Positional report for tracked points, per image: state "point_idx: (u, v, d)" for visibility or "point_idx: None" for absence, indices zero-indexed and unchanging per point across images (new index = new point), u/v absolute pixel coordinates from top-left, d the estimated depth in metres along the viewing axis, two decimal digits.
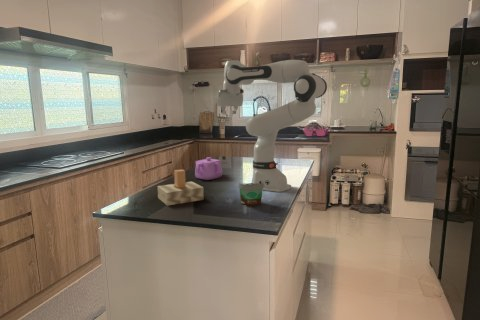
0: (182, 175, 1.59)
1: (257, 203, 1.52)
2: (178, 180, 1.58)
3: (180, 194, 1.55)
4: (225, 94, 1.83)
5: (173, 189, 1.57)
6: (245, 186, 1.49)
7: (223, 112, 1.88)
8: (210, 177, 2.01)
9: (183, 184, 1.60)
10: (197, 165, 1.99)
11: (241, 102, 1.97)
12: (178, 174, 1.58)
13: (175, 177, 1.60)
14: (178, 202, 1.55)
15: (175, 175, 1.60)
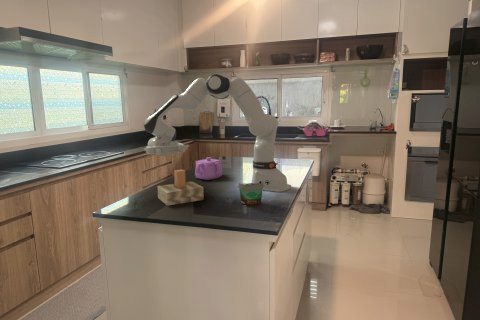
0: (182, 175, 1.59)
1: (257, 203, 1.52)
2: (178, 180, 1.58)
3: (180, 194, 1.55)
4: None
5: (173, 189, 1.57)
6: (245, 186, 1.49)
7: (159, 151, 1.67)
8: (210, 177, 2.01)
9: (183, 184, 1.60)
10: (197, 165, 1.99)
11: (181, 144, 1.79)
12: (178, 174, 1.58)
13: (175, 177, 1.60)
14: (178, 202, 1.55)
15: (175, 175, 1.60)
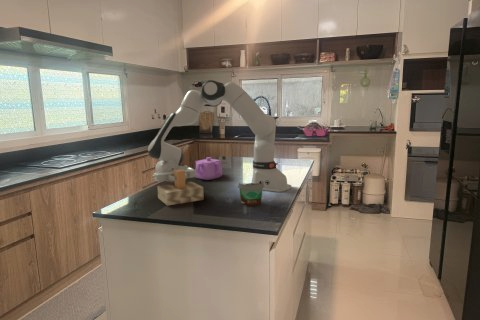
0: (182, 175, 1.59)
1: (257, 203, 1.52)
2: (178, 180, 1.58)
3: (180, 194, 1.55)
4: None
5: (173, 189, 1.57)
6: (245, 186, 1.49)
7: (172, 178, 1.59)
8: (210, 177, 2.01)
9: (183, 184, 1.60)
10: (197, 165, 1.99)
11: (191, 169, 1.70)
12: (178, 174, 1.58)
13: None
14: (178, 202, 1.55)
15: (175, 175, 1.60)
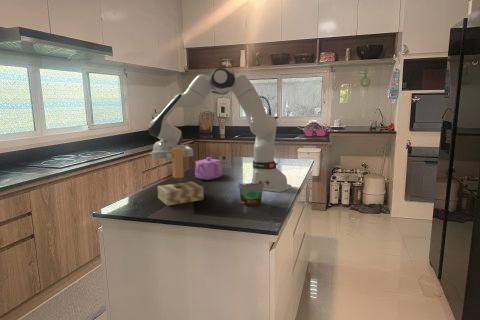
0: (179, 152, 1.59)
1: (257, 203, 1.52)
2: (175, 157, 1.58)
3: (180, 194, 1.55)
4: (156, 149, 1.66)
5: (173, 189, 1.57)
6: (245, 186, 1.49)
7: (170, 155, 1.59)
8: (210, 177, 2.01)
9: (181, 161, 1.60)
10: (197, 165, 1.99)
11: (189, 148, 1.70)
12: (176, 151, 1.58)
13: None
14: (178, 202, 1.55)
15: (173, 153, 1.60)
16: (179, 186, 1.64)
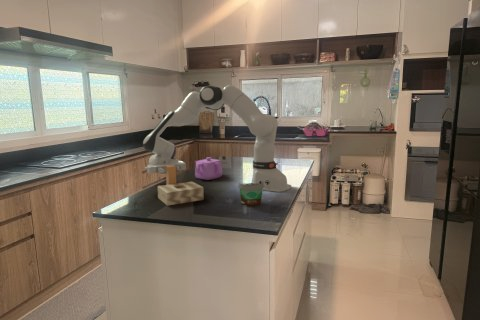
0: (173, 170, 1.70)
1: (257, 203, 1.52)
2: (169, 175, 1.69)
3: (180, 194, 1.55)
4: (150, 164, 1.77)
5: (173, 189, 1.57)
6: (245, 186, 1.49)
7: (162, 170, 1.70)
8: (210, 177, 2.01)
9: (174, 178, 1.71)
10: (197, 165, 1.99)
11: (182, 162, 1.80)
12: (169, 169, 1.69)
13: (166, 172, 1.71)
14: (178, 202, 1.55)
15: (166, 170, 1.71)
16: (179, 186, 1.64)
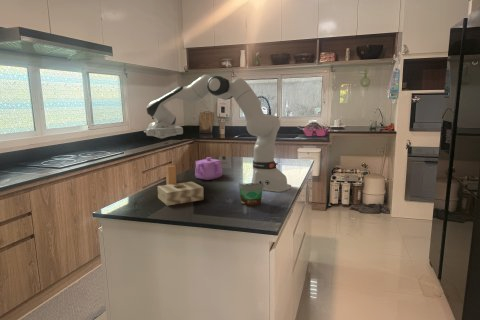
0: (173, 170, 1.70)
1: (257, 203, 1.52)
2: (169, 175, 1.69)
3: (180, 194, 1.55)
4: (149, 128, 1.86)
5: (173, 189, 1.57)
6: (245, 186, 1.49)
7: (158, 132, 1.79)
8: (210, 177, 2.01)
9: (174, 178, 1.71)
10: (197, 165, 1.99)
11: (179, 127, 1.90)
12: (169, 169, 1.69)
13: (166, 172, 1.71)
14: (178, 202, 1.55)
15: (166, 170, 1.71)
16: (179, 186, 1.64)
